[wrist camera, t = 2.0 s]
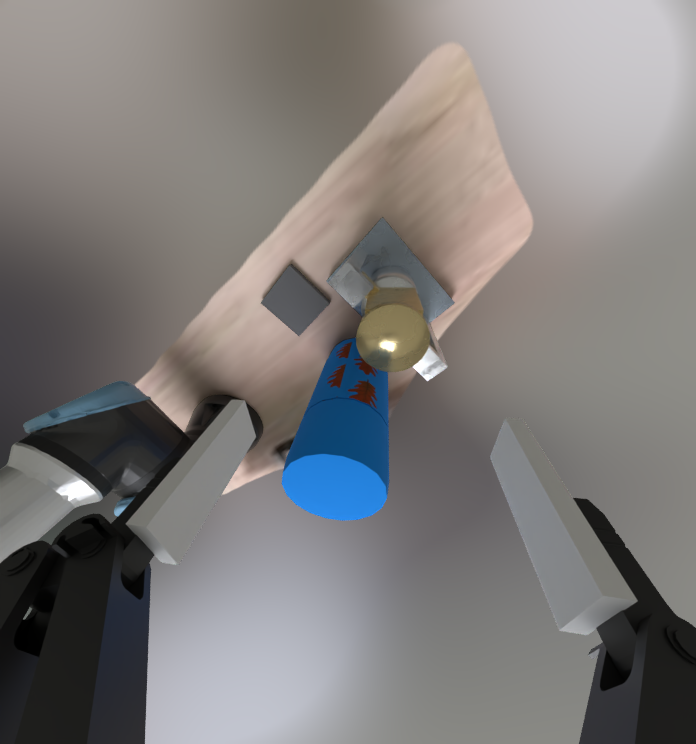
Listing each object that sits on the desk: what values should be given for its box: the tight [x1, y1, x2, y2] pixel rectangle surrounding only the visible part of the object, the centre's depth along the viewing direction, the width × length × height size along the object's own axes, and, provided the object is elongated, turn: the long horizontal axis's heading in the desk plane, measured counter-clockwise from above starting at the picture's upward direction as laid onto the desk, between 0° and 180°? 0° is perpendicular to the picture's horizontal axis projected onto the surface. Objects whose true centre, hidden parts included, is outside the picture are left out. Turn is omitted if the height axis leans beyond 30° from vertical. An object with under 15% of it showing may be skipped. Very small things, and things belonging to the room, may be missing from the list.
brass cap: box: [356, 271, 430, 372], centre depth 26 cm, size 11×7×9 cm, turn 46°
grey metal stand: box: [327, 217, 454, 381], centre depth 32 cm, size 11×15×16 cm
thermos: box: [282, 338, 389, 520], centre depth 36 cm, size 11×11×25 cm
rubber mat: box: [261, 264, 330, 336], centre depth 41 cm, size 8×8×1 cm
